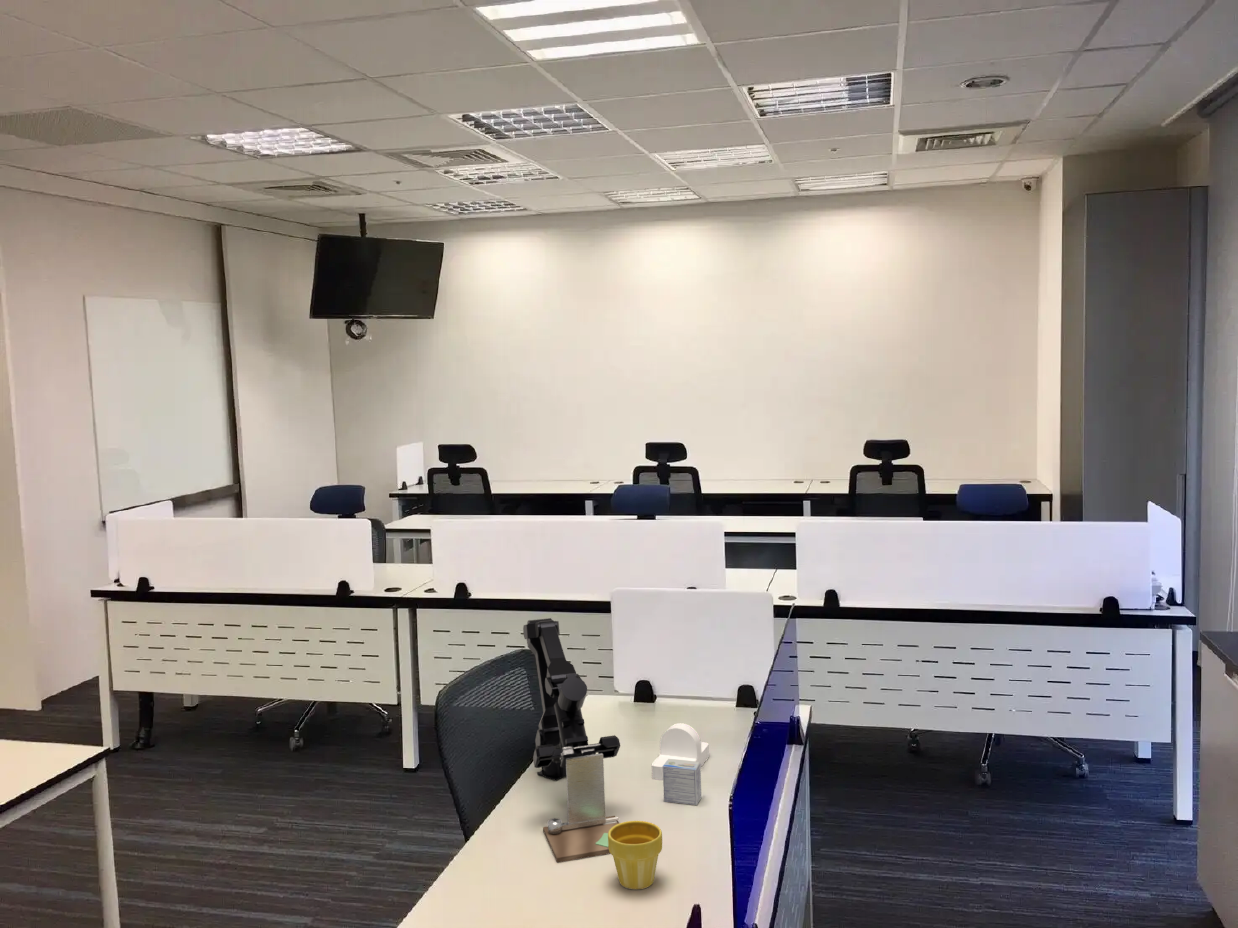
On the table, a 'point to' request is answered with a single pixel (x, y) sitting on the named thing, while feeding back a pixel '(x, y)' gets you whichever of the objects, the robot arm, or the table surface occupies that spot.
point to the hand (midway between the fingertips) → (584, 788)
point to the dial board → (580, 841)
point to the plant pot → (635, 852)
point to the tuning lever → (583, 794)
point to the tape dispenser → (679, 748)
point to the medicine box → (682, 781)
